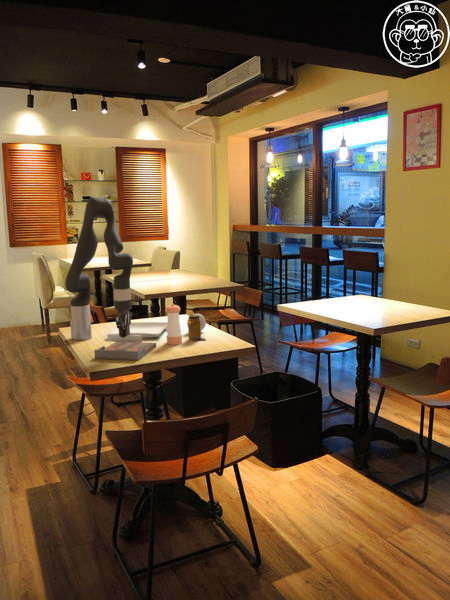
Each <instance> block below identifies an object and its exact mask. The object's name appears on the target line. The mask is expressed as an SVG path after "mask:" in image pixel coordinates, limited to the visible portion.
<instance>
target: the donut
mask: <svg viewBox="0 0 450 600" xmlns="http://www.w3.org/2000/svg"><path fill="white" fill-rule="evenodd" d="M192 315H198V316H199V319H200V327H201V332H202V331H203V330H204V329H205V327H206V326H207V325H206V323H207V321H206V319H205V317H204V315H202V314H200V313H193V314H192ZM188 321H189V317H188V319H187V321H186V324H187V327H188Z"/></svg>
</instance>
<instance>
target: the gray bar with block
mask: <svg viewBox="0 0 450 600" xmlns="http://www.w3.org/2000/svg"><path fill="white" fill-rule="evenodd" d="M106 337H107V342H109V343H110V342H112V343H115V342H136V343H141V342H143V338H142V335H130V324H125V337H124V338H123V337H120V329H119V334H108V333H107V335H106Z"/></svg>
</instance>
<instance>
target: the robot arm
mask: <svg viewBox="0 0 450 600" xmlns="http://www.w3.org/2000/svg"><path fill="white" fill-rule="evenodd" d="M95 218H96V219H104V220H105V221H106V226H105V230H104V232H103V240H104V244H105V247H106V249H107V256H108V258H107V259H108V260H107V262H108V266H109V268H110V269H111V270H113V271H121V270H122V272H121V273H120V274H117V275H115V276H113V303H114V305H113V308H114V310H116V311H117V317H114V322H115V325H116V327H117V329H120V337H123V338H124V337H125V324H131V323H132V315H133V313H132V311H130V310H131V309H132V308H133V307H132V291H131V280H130V279H131V275H132V274H131V273H132V270H133V265H134V259H133V256H132V255H131V254H130V253H122V251H123V250H124V244H123V242H122V239H121V237H120V233H119V232H118V231H119V230H118V226H117V221H116V216H115V211H114V206H113V204H112V201H111V200H110V199H109V198H102V197H93V196H91V197H89V198H88V199H87V202H86V205H85V210H84V215H83V221H82V222H83V223H82V226H81V230H80V233H79V237H78V240H77V245H76V247H75V251H74V255H73V259H72V262H71V264H70V268H69V270H68V273H67V275H66V277H65V284H64V285H65V289H66V291H67V292H69V293H77V295H75V296H74V297H73V298H72V299H70V311H71V312H70V314H71V315H70V316H71V320H70V321H69V322H70V323H69V325H70V336H71V337H70V338H71V340H75V341H83V340H84V341H85V340H86V341H87V340H89V339H91V338H93V336H92V321H91V306H90V303H91V302H90V300H91V281H90V276H89V275H88V274H87V273H86V272H82V271H83V270H84V268H85V267H86V266H88V264H89V263H90V262H91V261H92V260H93V258H94V257H95V255H96V252H97V249H98V243H99V241H98V240H99V239H98V237H97V235H96V232H95V230H94V220H95Z"/></svg>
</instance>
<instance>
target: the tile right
mask: <svg viewBox="0 0 450 600" xmlns="http://www.w3.org/2000/svg"><path fill="white" fill-rule="evenodd" d="M125 351H139V349H134V348H128V349H127V350H125Z"/></svg>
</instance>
